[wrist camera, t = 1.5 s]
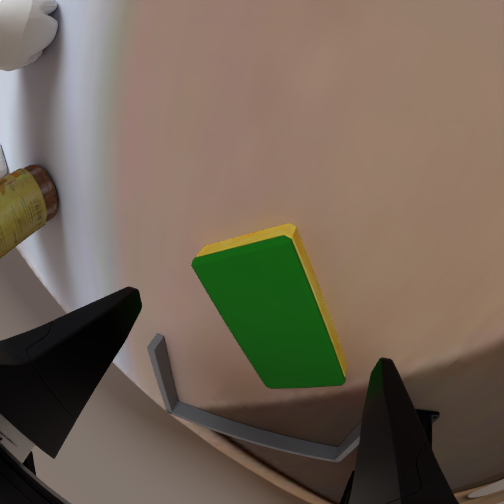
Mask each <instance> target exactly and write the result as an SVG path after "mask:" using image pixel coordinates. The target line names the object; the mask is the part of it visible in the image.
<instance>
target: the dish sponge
mask: <svg viewBox="0 0 504 504" xmlns="http://www.w3.org/2000/svg"><path fill="white" fill-rule="evenodd" d="M191 266H192V267H193V269H194V271H195V273H196V274H197V276H198V278H199V279H200V281H201V283H202V285H203V286H204V288H205V290H206V291H207V293H208V295H209V297H210V298H211V300H212V302H213V303H214V305H215V307H216V308H217V310H218V312H219V313H220V315H221V316H222V318H223V320H224V321H225V323H226V325H227V326H228V328H229V330H230V331H231V333H232V334H233V336H234V338H235V339H236V341H237V342H238V344H239V346H240V347H241V349H242V350H243V352H244V353H245V355H246V357H247V358H248V360H249V361H250V363H251V364H252V366H253V367H254V369H255V371H256V372H257V374H258V375H259V377H260V378H261V380H262V381H263V383H264V384H265V386H266V387H268V388H271V389H275V388H307V387H325V386H339V385H343V384H344V383H345V377H346V371H347V363H346V360H345V357H344V354H343V351H342V348H341V345H340V342H339V339H338V336H337V333H336V330H335V328H334V325H333V322H332V319H331V316H330V314H329V311H328V308H327V305H326V303H325V300H324V297H323V294H322V292H321V289H320V286H319V284H318V281H317V278H316V276H315V273H314V270H313V268H312V265H311V263H310V260H309V257H308V255H307V252H306V250H305V247H304V245H303V242H302V240H301V237H300V235H299V232H298V230H297V227H296V226H294V225H292V224H290V223H288V224H284V225H280V226H276V227H273V228H269V229H265V230H261V231H258V232H254V233H250V234H246V235H243V236H239V237H235V238H232V239H228V240H224V241H221V242H217V243H213V244H210V245H206V246H204V247H203V249H202V250H201V251H200V252H199V253H198V255H197V257H195V258H194V259H193V261H192V265H191Z"/></svg>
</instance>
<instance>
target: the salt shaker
mask: <svg viewBox="0 0 504 504" xmlns="http://www.w3.org/2000/svg"><path fill="white" fill-rule="evenodd" d="M6 173H7V166H6V162H5V159H4V156H3V152H2V149H1V146H0V178H1V177H3V176H4V175H5V174H6Z"/></svg>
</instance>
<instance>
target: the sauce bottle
mask: <svg viewBox="0 0 504 504" xmlns="http://www.w3.org/2000/svg"><path fill="white" fill-rule="evenodd" d="M57 202H58V199H57V194H56V190H55V187H54V184H53V182H52V180H51V179H50V177H49V175H48V173H47V172H46V171H45V170H44V169H43V168H42V167H41V166H38V165H29V166H27V167H25V168H24V169H18V170H16V171H14V172H12V173H11V174H9V175H7V176H5V177H3V178H2V179H0V259H1V258H2V257H3V256H4V255H5V254H7V253H8V252H9V251H11V250H12V249H13V248H14V247H16V246H17V245H18V244H20V243H21V242H22V241H23V240H25V239H26V238H27V237H29V236H30V235H31V234H33V233H34V232H35V231H37V230H38V229H40V228H41V227H42V226H44V225H45V222H47V221H49V220H50V219H52V218H53V217H54V216H55V214H56V212H57V206H58V205H57Z"/></svg>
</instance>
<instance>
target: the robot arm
mask: <svg viewBox="0 0 504 504" xmlns="http://www.w3.org/2000/svg"><path fill="white" fill-rule="evenodd" d="M141 309H142V303H141V298H140V293H139V290H138V289H136V288H133V287H126V288H124V289H121V290H119V291H117V292H115V293H113V294H110V295H108V296H106V297H104V298H101V299H99V300H97V301H95V302H92V303H90V304H88V305H86V306H84V307H81V308H79V309H77V310H75V311H73V312H70V313H68V314H66V315H64V316H62V317H59V318H57V319H55V320H54V321H51V322H48V323H46V324H44V325H42V326H39V327H37V328H35V329H32V330H30V331H27V332H25V333H21V334H19V335H16V336H13V337H11V338H8V339H5V340H1V341H0V504H71V503H69V502H68V501H67V500H65V499H64V498H63V497H61V496H60V495H59V494H57V493H56V492H55V491H53V490H52V489H51V488H50V487H48V486H47V485H46V484H45V483H43V482H42V481H41V480H40V479H39V478H38V477H36V472H35V466H34V460H33V454H32V451H31V450H32V449H33V447H34V446H35V445H36V446H38V447H39V448H40V449H41V450H43V451H44V452H45V453H46V454H48V455H49V456H51V457H52V458H53V459H54V458H55V457H56V455H57V454H58V452H59V450H60V448H61V446H62V445H63V443H64V441H65V439H66V438H67V436H68V434H69V432H70V431H71V429H72V427H73V425H74V423H75V422H76V420H77V418H78V417H79V415H80V413H81V411H82V410H83V408H84V406H85V405H86V403H87V401H88V400H89V398H90V396H91V395H92V393H93V391H94V390H95V388H96V386H97V385H98V383H99V382H100V380H101V378H102V377H103V375H104V373H105V372H106V370H107V369H108V367H109V366H110V364H111V362H112V361H113V359H114V358H115V356H116V355H117V353H118V352H119V350H120V348H121V347H122V345H123V344H124V342H125V340H126V339H127V337H128V335H129V333H130V331H131V329H132V327H133V325H134V323H135V321H136V319H137V317H138V315H139V313H140V311H141ZM438 418H439V412H433V411H424V410H416V409H415V408H414V406H413V403H412V401H411V399H410V397H409V394H408V392H407V390H406V388H405V386H404V383H403V381H402V379H401V377H400V375H399V373H398V371H397V369H396V366H395V364H394V362H393V361H392V360H391V359H388V358H383V357H382V358H380V359H379V361H378V362H377V364H376V366H375V367H374V369H373V371H372V373H371V376H370V381H369V386H368V391H367V396H366V400H365V405H364V410H363V415H362V422H361V431H360V439H359V446H358V454H357V460H356V467H355V471H352V474H351V477H350V478H349V481H348V483H347V486H346V489H345V491H344V494H343V497H342V499H341V502H340V504H459V503H458V501H457V500H456V498H455V496H454V494H453V492H452V490H451V488H450V486H449V484H448V482H447V480H446V478H445V477H444V475H443V473H442V471H441V469H440V466H439V464H438V462H437V460H436V458H435V456H434V453H433V451H432V423H434V422H435V421H436V420H437V419H438Z"/></svg>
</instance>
